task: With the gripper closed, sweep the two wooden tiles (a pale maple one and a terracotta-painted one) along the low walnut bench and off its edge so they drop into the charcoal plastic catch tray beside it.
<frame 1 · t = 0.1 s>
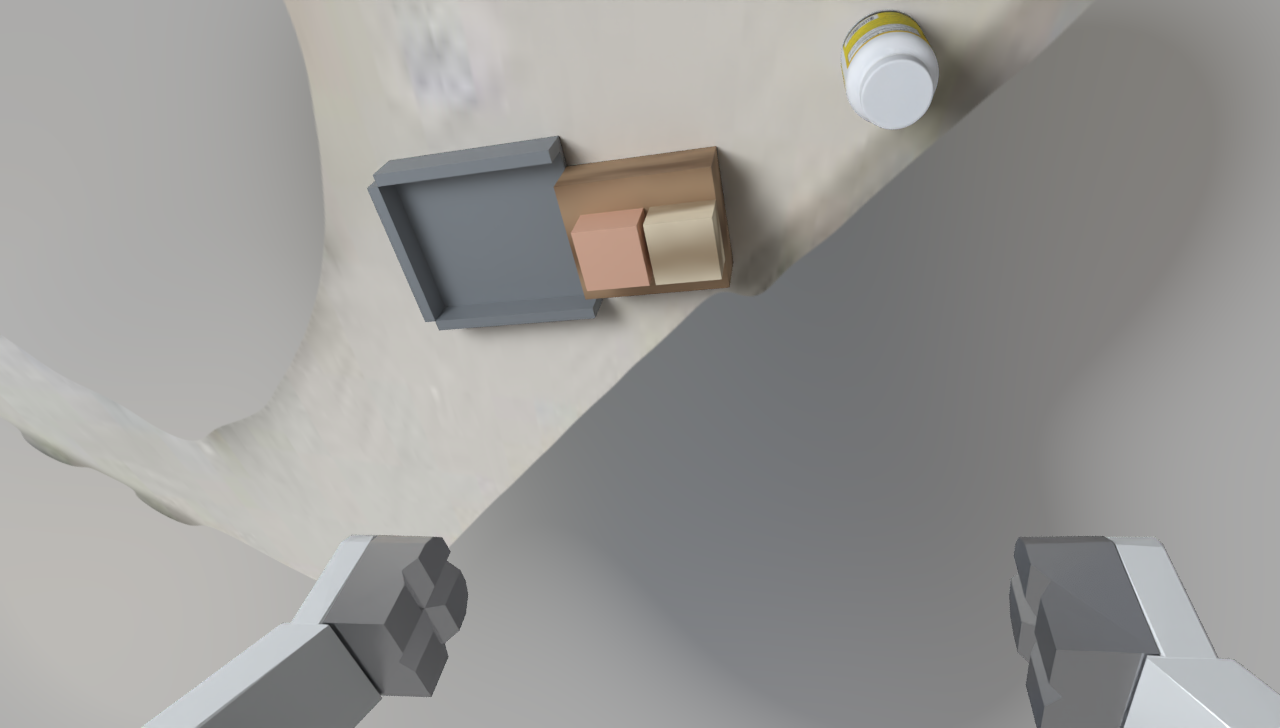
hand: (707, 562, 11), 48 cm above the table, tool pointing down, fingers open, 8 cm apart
supplement bottle: (881, 50, 50), on the table
catch tray: (499, 232, 64), on the table
maple tile: (687, 233, 56), point 4 cm above the table, touching bench
bench: (651, 215, 60), on the table
terracotta tile: (618, 240, 58), point 4 cm above the table, touching bench
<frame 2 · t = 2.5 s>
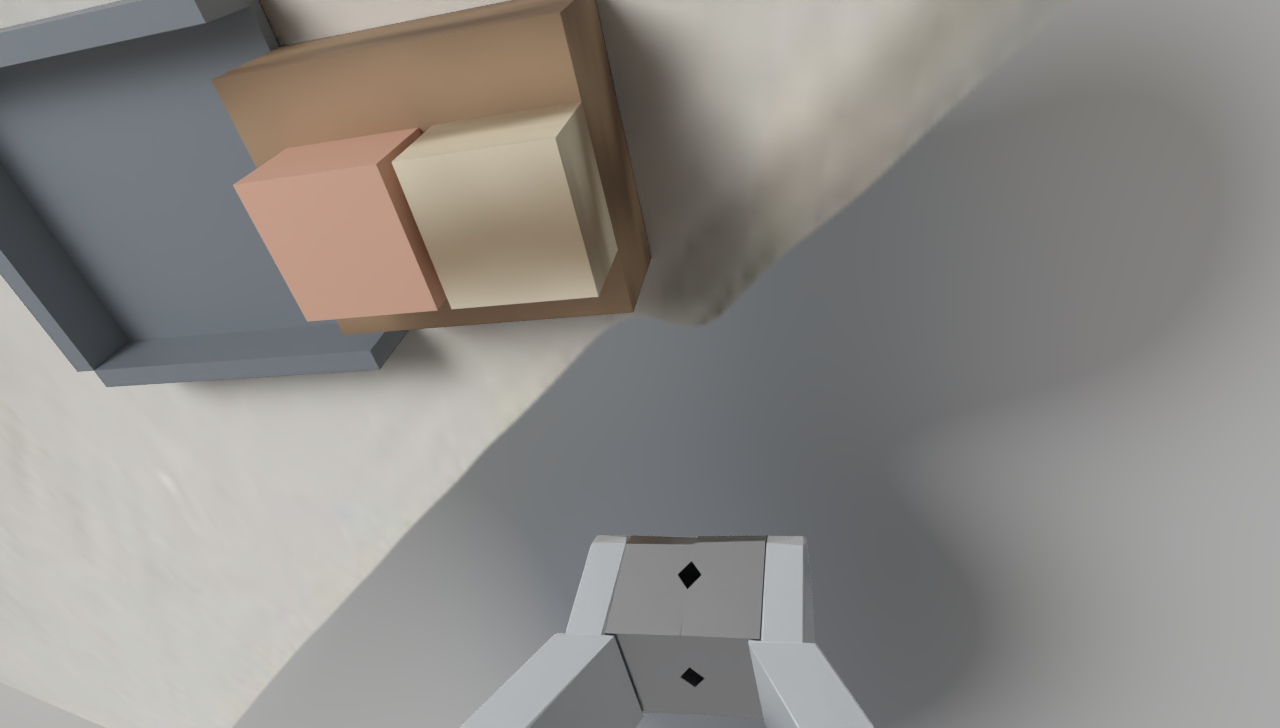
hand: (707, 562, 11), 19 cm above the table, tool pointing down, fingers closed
catch tray: (188, 197, 32), on the table
maple tile: (528, 189, 24), point 4 cm above the table, touching bench
bench: (473, 156, 28), on the table
terracotta tile: (381, 208, 26), point 4 cm above the table, touching bench
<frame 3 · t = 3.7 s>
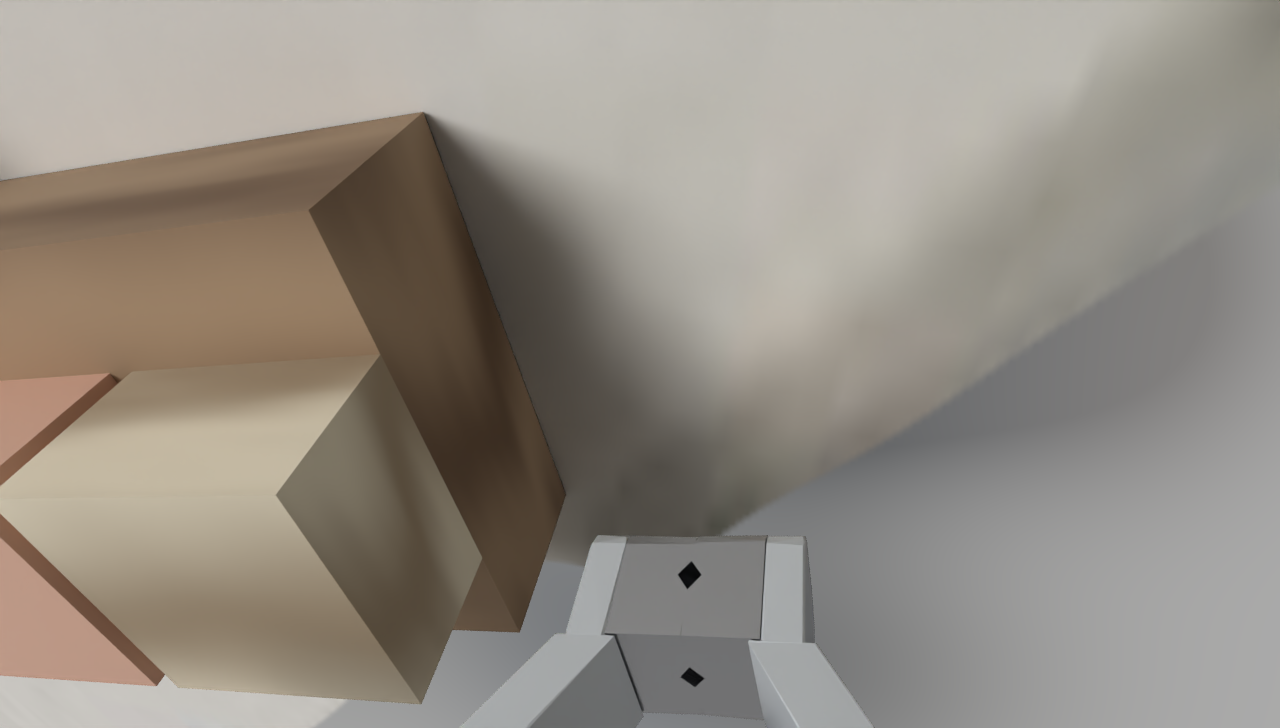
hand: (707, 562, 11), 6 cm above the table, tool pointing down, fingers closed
maple tile: (317, 470, 14), point 4 cm above the table, touching bench
bench: (277, 353, 18), on the table
terracotta tile: (89, 475, 15), point 4 cm above the table, touching bench
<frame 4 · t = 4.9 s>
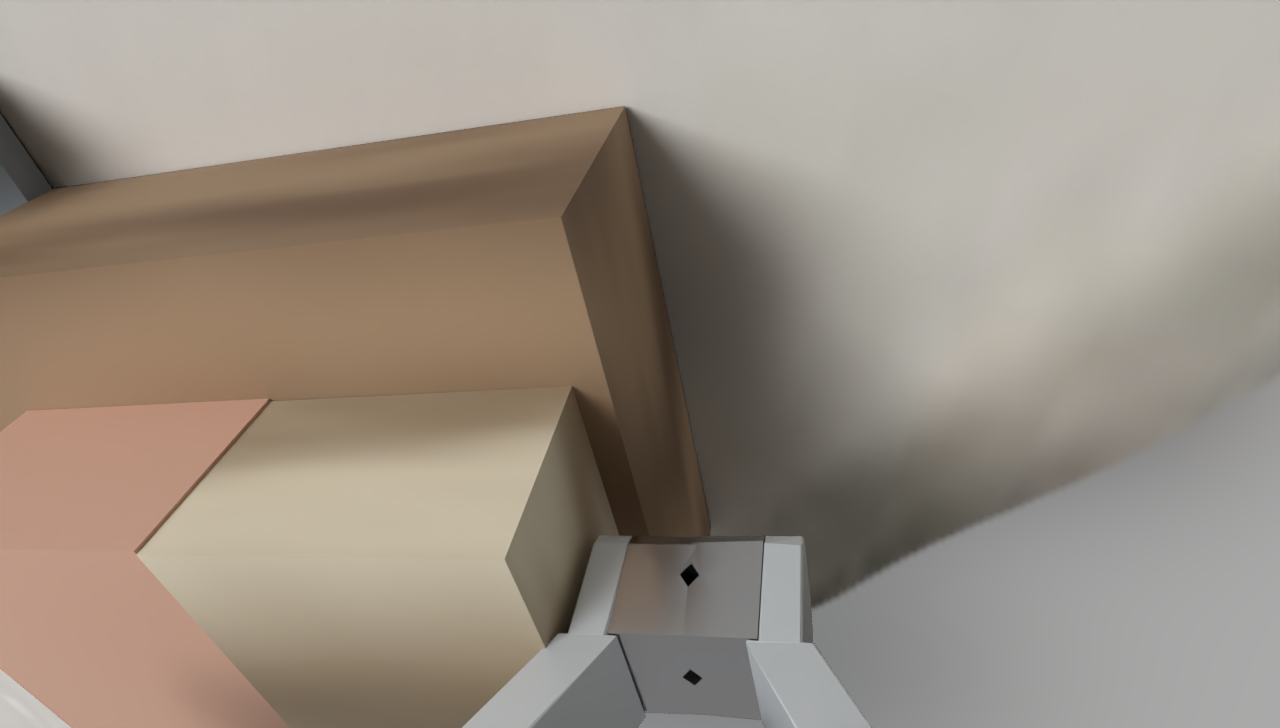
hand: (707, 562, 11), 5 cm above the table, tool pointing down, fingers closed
maple tile: (467, 510, 12), point 4 cm above the table, touching bench, gripper
bench: (408, 371, 16), on the table
terracotta tile: (220, 509, 14), point 4 cm above the table
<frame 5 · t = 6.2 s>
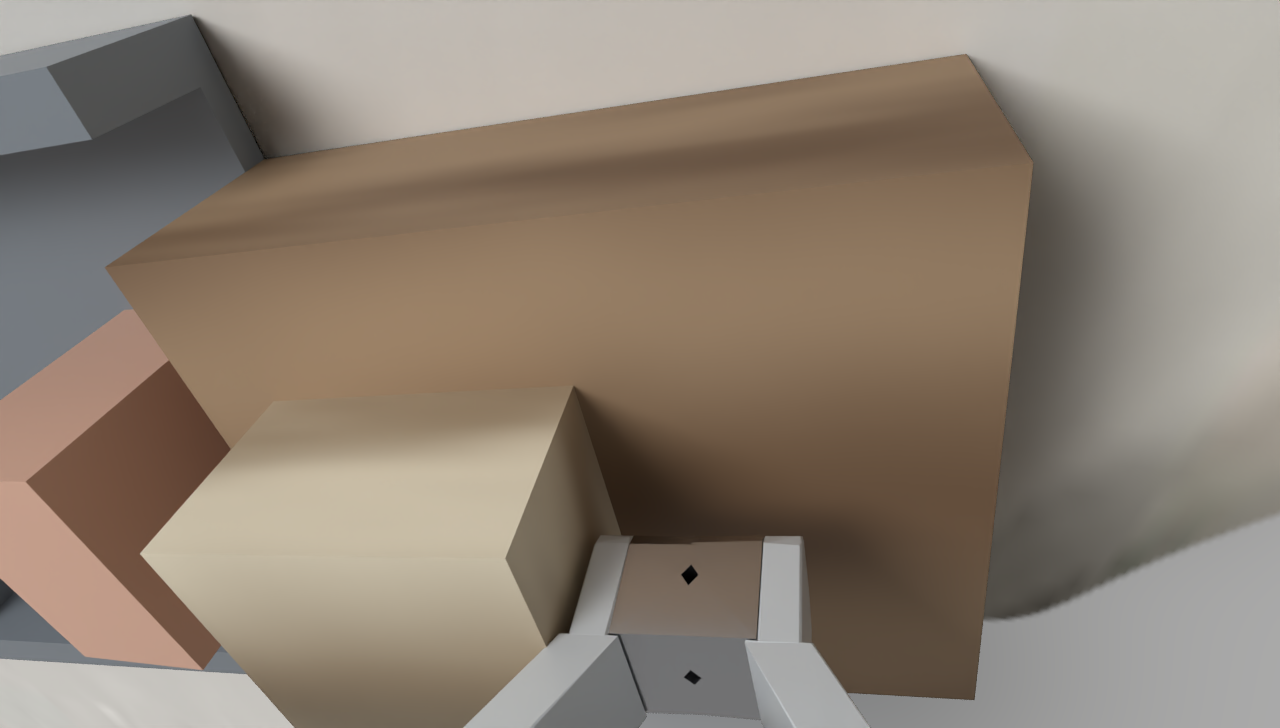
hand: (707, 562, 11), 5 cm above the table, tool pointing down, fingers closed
catch tray: (109, 389, 18), on the table
maple tile: (470, 509, 12), point 4 cm above the table, touching bench, gripper
bench: (632, 358, 15), on the table
terracotta tile: (220, 479, 14), point 3 cm above the table, tilted 92°, touching catch tray
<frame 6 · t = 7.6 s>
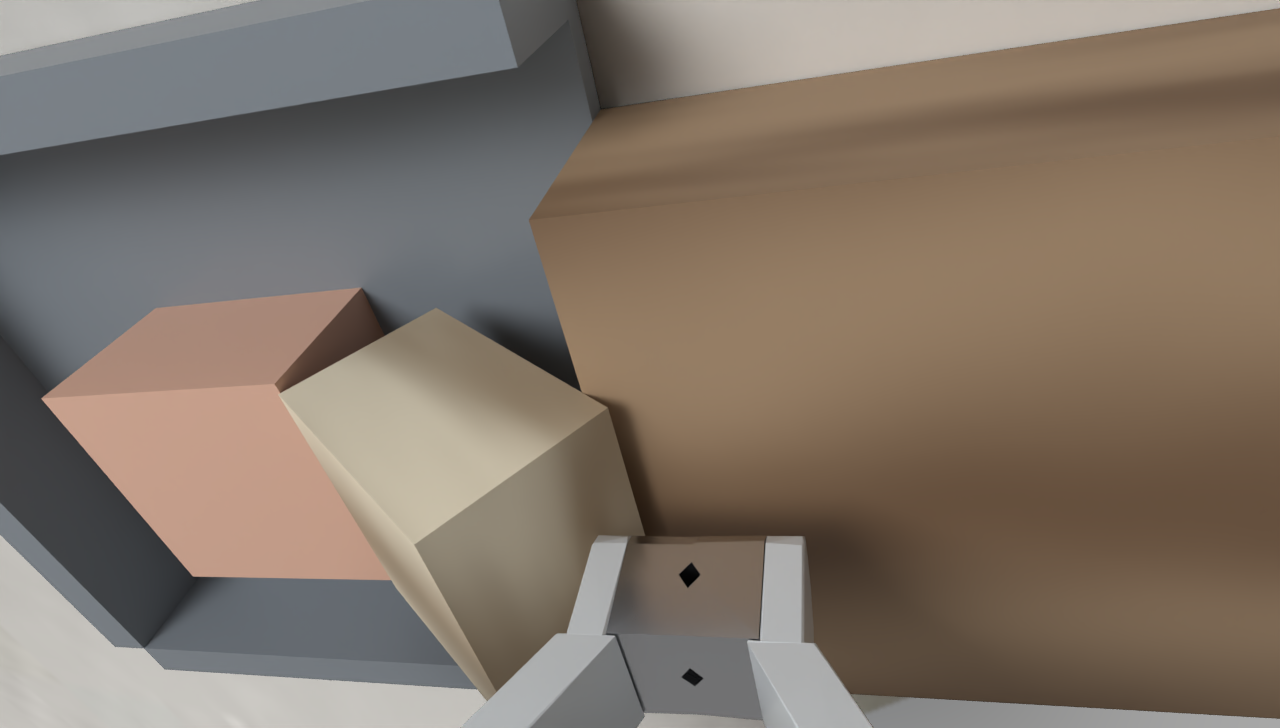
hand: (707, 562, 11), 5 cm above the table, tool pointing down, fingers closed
catch tray: (334, 376, 17), on the table
maple tile: (551, 465, 13), point 3 cm above the table, tilted 38°, touching bench, gripper, terracotta tile
bench: (981, 339, 13), on the table
terracotta tile: (227, 494, 14), point 4 cm above the table, tilted 180°, touching catch tray, maple tile
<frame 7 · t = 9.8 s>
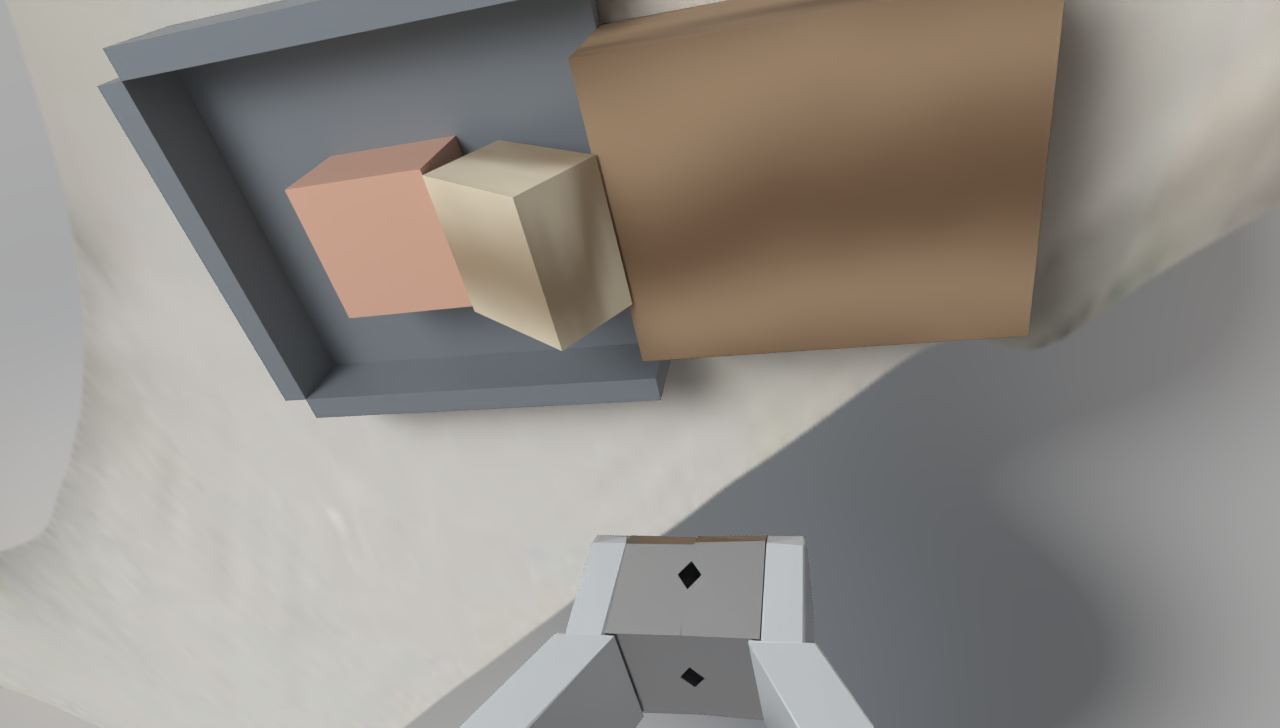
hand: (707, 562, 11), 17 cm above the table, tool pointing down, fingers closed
catch tray: (440, 203, 28), on the table
maple tile: (564, 221, 24), point 3 cm above the table, tilted 36°, touching bench, terracotta tile
bench: (810, 153, 24), on the table
terracotta tile: (381, 249, 25), point 4 cm above the table, tilted 180°, touching catch tray, maple tile
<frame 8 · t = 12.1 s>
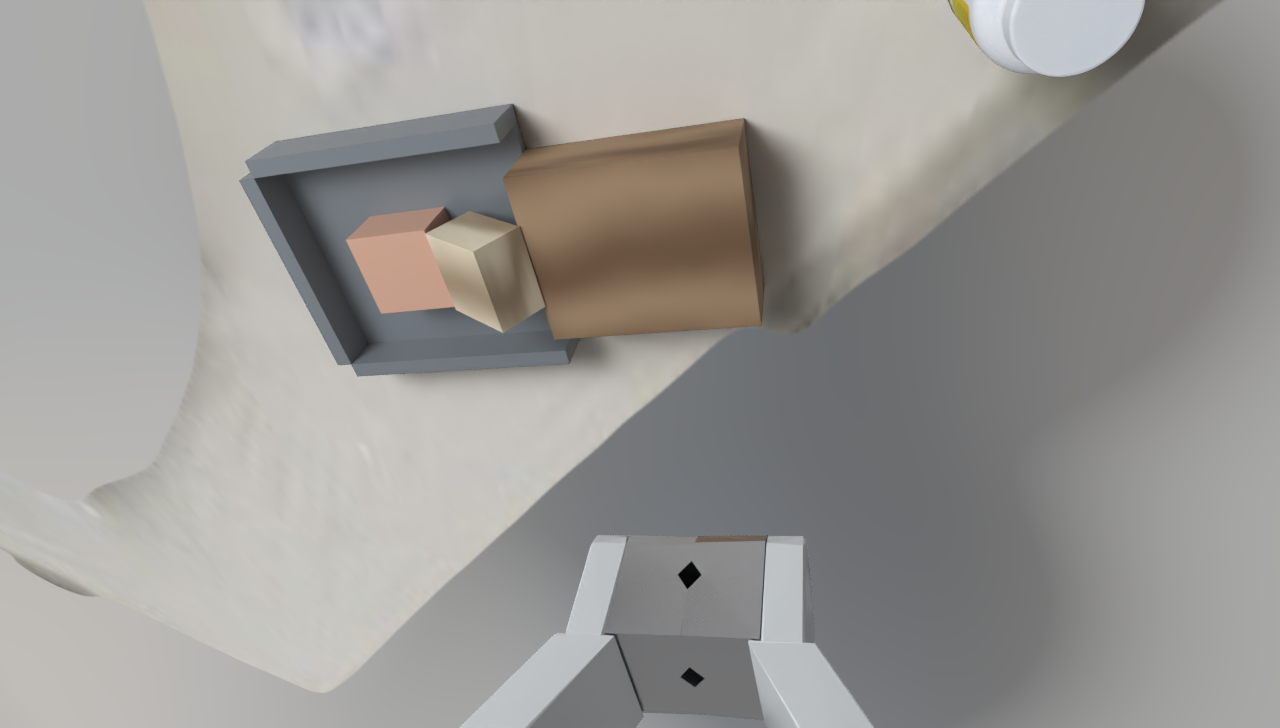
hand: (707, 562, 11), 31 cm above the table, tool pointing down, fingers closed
catch tray: (435, 243, 46), on the table
maple tile: (507, 258, 42), point 3 cm above the table, tilted 36°, touching bench, terracotta tile
bench: (648, 220, 42), on the table
terracotta tile: (401, 274, 43), point 4 cm above the table, tilted 180°, touching catch tray, maple tile
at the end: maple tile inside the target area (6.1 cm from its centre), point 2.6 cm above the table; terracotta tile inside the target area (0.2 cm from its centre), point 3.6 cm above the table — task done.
